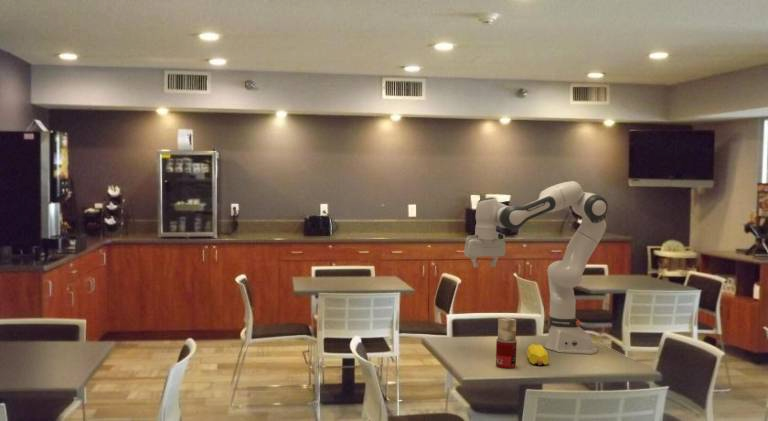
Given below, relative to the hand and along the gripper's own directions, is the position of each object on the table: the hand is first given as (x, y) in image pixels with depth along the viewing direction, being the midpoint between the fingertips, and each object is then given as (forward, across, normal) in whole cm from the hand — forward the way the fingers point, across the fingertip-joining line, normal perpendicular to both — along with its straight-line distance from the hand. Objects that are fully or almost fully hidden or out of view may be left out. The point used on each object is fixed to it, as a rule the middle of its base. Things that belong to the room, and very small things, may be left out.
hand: (484, 266), depth 327 cm
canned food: (+37, -8, -26) cm, 46 cm away
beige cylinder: (+26, -8, -26) cm, 37 cm away
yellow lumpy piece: (+38, +10, -24) cm, 46 cm away
